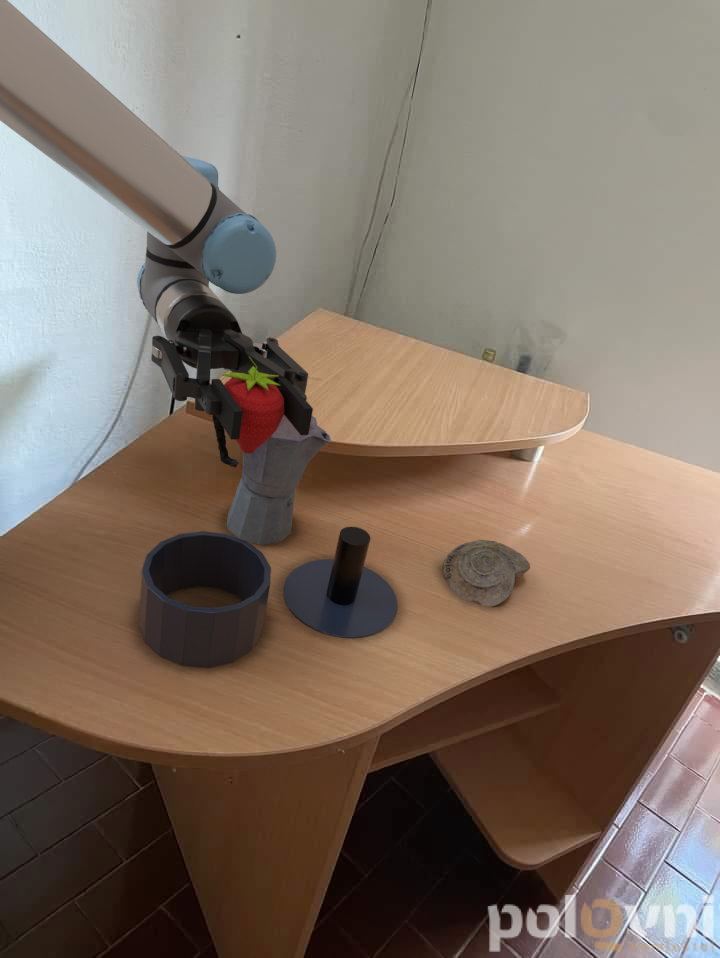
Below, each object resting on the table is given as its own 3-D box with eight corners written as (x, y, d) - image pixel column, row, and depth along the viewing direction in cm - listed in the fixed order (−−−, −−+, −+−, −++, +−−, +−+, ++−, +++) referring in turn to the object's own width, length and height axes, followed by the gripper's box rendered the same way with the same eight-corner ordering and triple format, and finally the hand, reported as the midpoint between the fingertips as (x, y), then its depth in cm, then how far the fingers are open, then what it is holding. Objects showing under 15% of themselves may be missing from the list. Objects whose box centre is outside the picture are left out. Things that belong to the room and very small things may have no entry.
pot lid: (310, 655, 76) (325, 584, 71) (265, 575, 86) (276, 507, 81) (416, 631, 83) (437, 564, 78) (363, 559, 93) (379, 496, 88)
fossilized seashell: (430, 550, 95) (462, 517, 91) (484, 565, 101) (516, 535, 97) (456, 615, 88) (492, 581, 84) (513, 627, 93) (549, 596, 90)
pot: (156, 686, 69) (160, 623, 65) (128, 600, 78) (130, 539, 74) (278, 658, 75) (289, 599, 71) (239, 582, 84) (246, 525, 80)
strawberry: (226, 474, 64) (237, 375, 59) (206, 434, 70) (215, 340, 65) (286, 471, 67) (302, 375, 62) (263, 433, 72) (276, 342, 67)
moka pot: (302, 565, 90) (329, 429, 79) (187, 536, 90) (199, 396, 80) (317, 525, 98) (343, 397, 88) (212, 498, 98) (226, 368, 88)
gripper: (272, 357, 85) (358, 453, 68) (110, 357, 75) (162, 468, 59) (281, 297, 81) (373, 383, 64) (111, 289, 72) (167, 387, 55)
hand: (272, 423), depth 61 cm, fingers closed on strawberry, 6 cm apart
